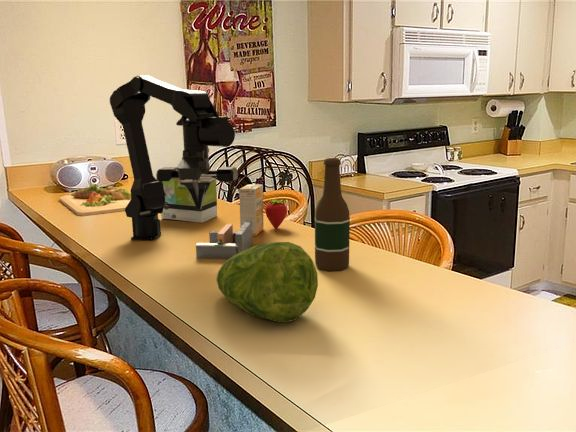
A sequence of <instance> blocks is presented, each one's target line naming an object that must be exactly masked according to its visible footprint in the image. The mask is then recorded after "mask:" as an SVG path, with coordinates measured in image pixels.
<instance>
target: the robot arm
mask: <svg viewBox="0 0 576 432" xmlns="http://www.w3.org/2000/svg"><path fill="white" fill-rule="evenodd" d="M209 96H210V95H209V94H208V92H206V91H204V90H195V89H182V88H180V87H177V86H175V85H172V84H169V83H168V82H164V81H161V80H159V79H156V78H154V77H153V76H151V75H136V76H133V77H132V78H131V80H130V81H128V82H126V83H124V84H122V85H120V86H118V87H117V88H116V89H115V90H113V92H112V94H111V95H110V97H109V104H110V107H111V110H112V113H113V116H114V117H115V118H116V120H117V121H118V122H119V123H120V124H121V126H122V129H123V134H124V139H125V142H126V148H127V153H128V156H129V162H130V166H131V171H132V174H133V175H132V176H133V181H132V185H131V188H130V194H131V200H130V202H129V203H128V205H127V206H126V208H125V211H124V212H125V214H126V217H127V218H131V224H132V225H131V226H132V236H131V237H130V240H131V241H132V240H139V241H141V240H142V241H153V240H154V241H155V239H157V238H158V237H160V236H162V229H161V226H162V225H161V219H159V214H161V213H163V208H164V203H165V196H166V194H165V192H164V187H163V183H162V181H170V180H171V179H172V178H179V179H180V180H181V182H180V184H181V185H185V186H186V188H187V189H188V190H189V192H190V194H191V196H192V198H193V201H194V203H195V206H196V208H197V209H199V210H200V209H201V208H202V205H203V201H204V198H205V195H206V192H207V190H208V188H209V186H210V184H212V183H213V182H215V179H214V178H216V180H218V181H219V182H223V183H226V182H234V181H236V180H237V179H238V177H239V176H238V169H237V168H236V167H235V166H221V167H219V168H217V169H216V170H213V169H211V165H210V160H209V159H210V157H209V156H210V155H209V153H210V148H209V147H222V148H227V147H230V146H232V145H233V143H234V141H235V137H236V130H235V129H234V126H233V125H232V124H231V123H230V122H229V118H228V116H220V115H219V113H218V111H217V110H216V107H215V106H214V105H213V103H212V101H211V99H210V97H209ZM151 97H152V98H154V99H157V100H160V101H162V102H163V103H166V104H168V105H170V106H171V107H172V109H173V111H175V112H176V113H178V114H179V115H180V116H181V117H180V119H178V121H176V126H179V127H180V126H181V127H182V136H183V137H182V140H183V150H182V157H181V160H180V161H179V163H178V165H177V166H164V167H161V168H159V169H157V171H156V174H155V176H156V177H155V176H154V173H153V170H152V164H151V159H150V155H149V150H148V146H147V141H146V136H145V132H144V126H143V120H144V117H145V115H146V114H145V113H146V104H147V103H149V101H150V100H151ZM198 179H201V181H200V182H198Z"/></svg>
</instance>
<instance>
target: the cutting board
mask: <svg viewBox="0 0 576 432" xmlns="http://www.w3.org/2000/svg"><path fill="white" fill-rule="evenodd" d="M58 199H59V202H60V203H61V204H63V205H64V206H66V207H67V208H68V209H70V210H71V211H72V212H73V213H74V214H76V216H80V217H81V216H82V217H85V216H86V217H87V216H95V215H103V214H111V213H118V212H119V213H120V212H125V208H126V206H127V205H128V203H129V202H130V200H131V192H128V189H126V188H125V187H120V188H119V187H114V186H112V185H109V186H107V187H105V188H103V187H99V183H93V184H90V185H89V187H84V188H82V187H80V188H78V189H77V191H73V193H72V192H71V194H69V195H68V194H67V195H62V196H60V197H59V198H58Z"/></svg>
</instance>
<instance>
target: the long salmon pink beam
mask: <svg viewBox="0 0 576 432" xmlns="http://www.w3.org/2000/svg"><path fill="white" fill-rule="evenodd" d="M233 228H234V227H233V223H226V224H225V225H224V226H223V227H222V228H221V229H220V230H219V231H220V232H219V233H218V234H217V237H218V242H217V244H220V243H227V244H233V232H234V229H233Z"/></svg>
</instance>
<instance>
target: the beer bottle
mask: <svg viewBox="0 0 576 432" xmlns="http://www.w3.org/2000/svg"><path fill="white" fill-rule="evenodd" d="M323 165H324V180H323V190H322V195H321V197H320V199H319V200H318V201H317V204H316V207H315V211H314V265H315V267H316V269H317V270H320V271H325V272H342V271H344V270H346V269H348V268H349V265H350V236H351V235H350V227H351V226H350V224H351V223H350V222H351V221H350V216H351V215H350V210H349V207H348V204H347V202H346V200H345V199H344V197H343V195H342V185H341V167H340V166H341V165H342V162H341V159H339V158H337V157H336V158H335V157H331V158H330V157H328V158H325V159H324V162H323Z"/></svg>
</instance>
